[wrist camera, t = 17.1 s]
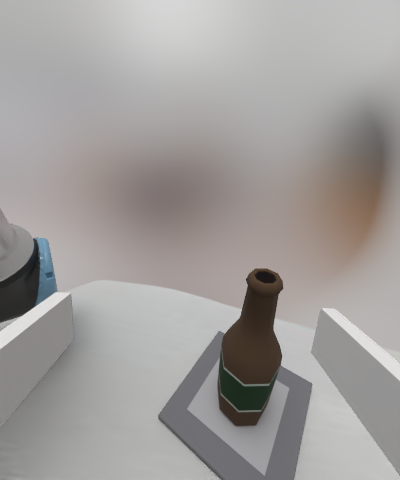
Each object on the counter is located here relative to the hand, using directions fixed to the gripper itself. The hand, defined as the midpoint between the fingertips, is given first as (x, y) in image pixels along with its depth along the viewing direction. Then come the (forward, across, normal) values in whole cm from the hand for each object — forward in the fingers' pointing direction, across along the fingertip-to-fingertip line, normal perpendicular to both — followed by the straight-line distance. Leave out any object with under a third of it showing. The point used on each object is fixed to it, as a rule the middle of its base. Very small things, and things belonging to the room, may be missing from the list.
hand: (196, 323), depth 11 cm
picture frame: (+17, +9, -25) cm, 32 cm away
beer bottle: (+17, +9, -24) cm, 31 cm away
